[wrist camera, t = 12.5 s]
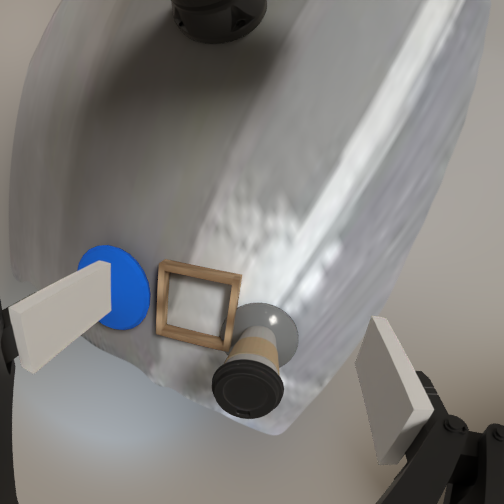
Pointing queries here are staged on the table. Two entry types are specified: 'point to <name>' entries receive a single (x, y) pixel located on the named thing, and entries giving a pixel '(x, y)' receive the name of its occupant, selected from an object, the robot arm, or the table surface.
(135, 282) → the blue spouted lid
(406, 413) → the robot arm
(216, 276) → the wooden square frame
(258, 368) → the coffee cup
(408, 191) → the table surface
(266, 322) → the grey round plate
